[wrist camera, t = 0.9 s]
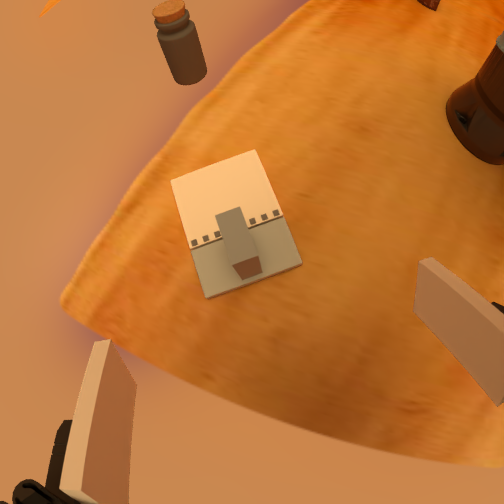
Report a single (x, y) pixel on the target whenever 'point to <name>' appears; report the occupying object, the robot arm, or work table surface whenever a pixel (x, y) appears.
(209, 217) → the notepad
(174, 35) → the bottle
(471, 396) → the work table surface
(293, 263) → the stub
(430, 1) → the food container
